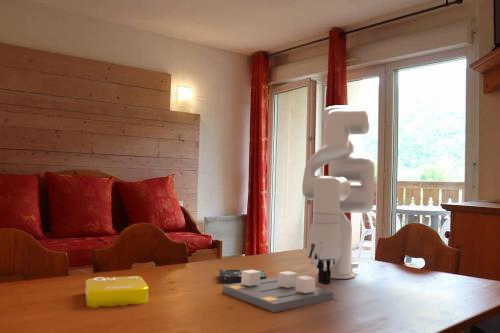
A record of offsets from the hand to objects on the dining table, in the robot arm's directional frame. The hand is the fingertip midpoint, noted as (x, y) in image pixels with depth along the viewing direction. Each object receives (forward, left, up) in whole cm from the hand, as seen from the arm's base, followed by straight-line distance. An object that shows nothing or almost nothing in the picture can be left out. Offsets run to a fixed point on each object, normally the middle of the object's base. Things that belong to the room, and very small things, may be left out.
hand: (324, 283), depth 127 cm
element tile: (+50, -29, -4) cm, 58 cm away
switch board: (+12, -7, -3) cm, 14 cm away
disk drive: (+8, -28, -4) cm, 29 cm away
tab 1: (+16, -14, -1) cm, 21 cm away
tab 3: (+8, 0, -1) cm, 8 cm away
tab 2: (+8, -7, -1) cm, 10 cm away
